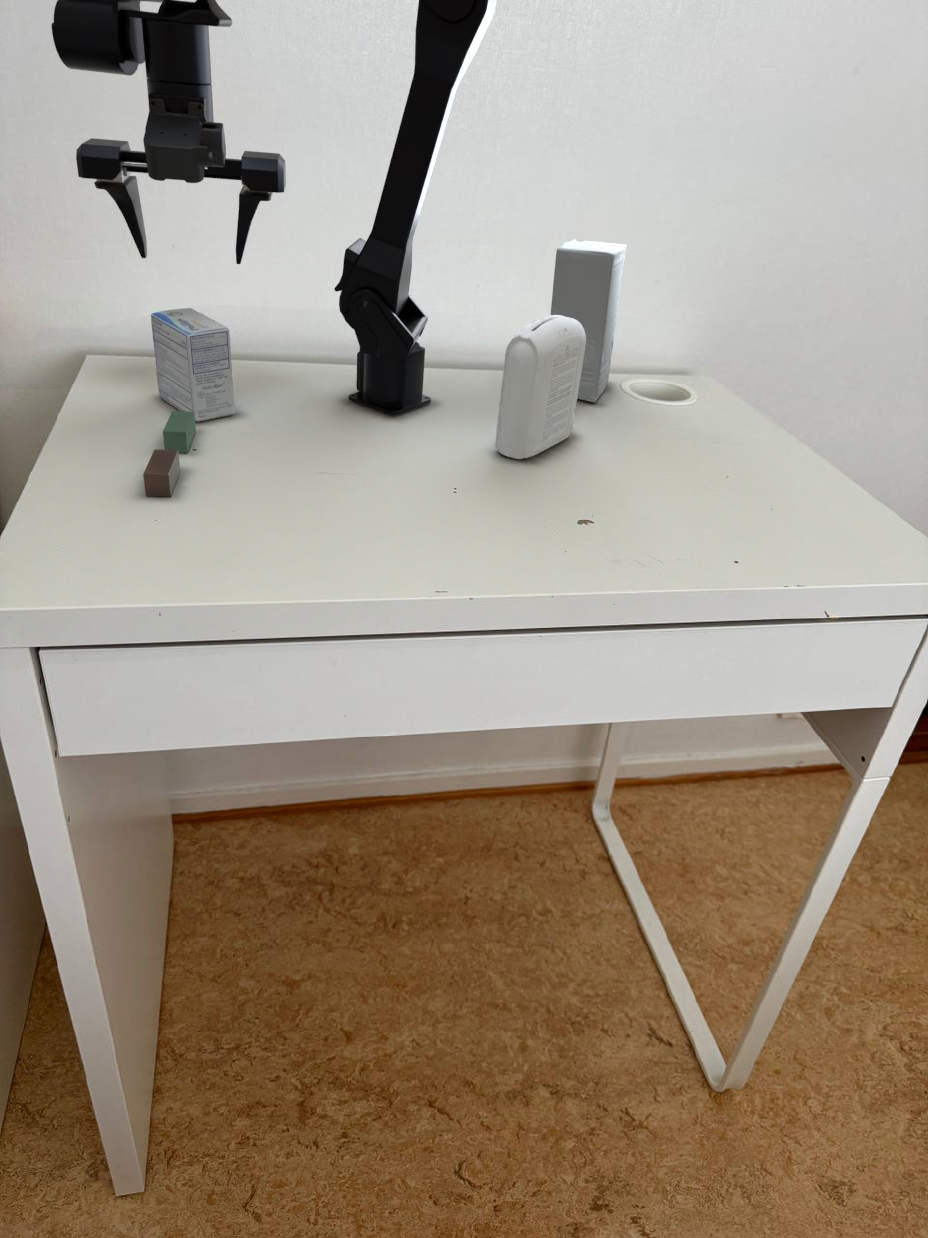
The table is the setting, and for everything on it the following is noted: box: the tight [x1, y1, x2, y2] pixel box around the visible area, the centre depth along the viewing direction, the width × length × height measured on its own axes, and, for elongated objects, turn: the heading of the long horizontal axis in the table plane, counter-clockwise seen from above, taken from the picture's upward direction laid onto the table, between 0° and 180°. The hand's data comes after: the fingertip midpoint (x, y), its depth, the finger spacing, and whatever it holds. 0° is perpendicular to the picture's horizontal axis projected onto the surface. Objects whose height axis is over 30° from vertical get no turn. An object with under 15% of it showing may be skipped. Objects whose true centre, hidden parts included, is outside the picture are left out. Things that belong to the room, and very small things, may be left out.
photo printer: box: [495, 314, 586, 460], centre depth 87 cm, size 10×4×12 cm, turn 146°
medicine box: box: [150, 307, 236, 422], centre depth 89 cm, size 8×4×9 cm, turn 41°
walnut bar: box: [142, 448, 181, 498], centre depth 76 cm, size 5×2×2 cm, turn 6°
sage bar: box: [162, 410, 196, 454], centre depth 83 cm, size 5×2×2 cm, turn 6°
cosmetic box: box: [550, 239, 628, 403], centre depth 102 cm, size 8×7×16 cm
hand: (191, 260), depth 92 cm, fingers open, 9 cm apart
